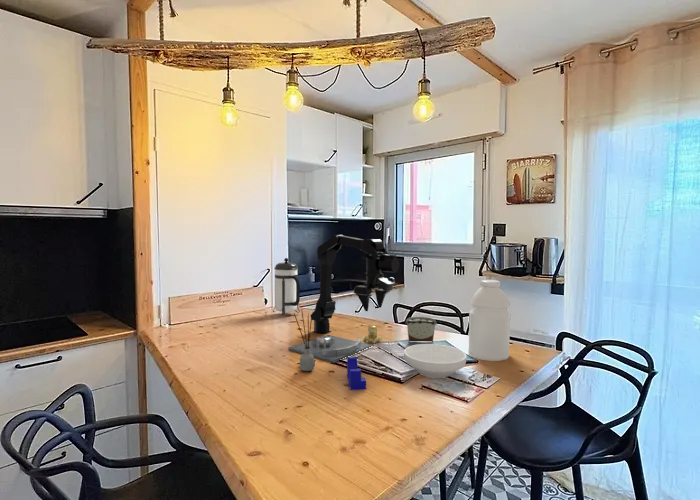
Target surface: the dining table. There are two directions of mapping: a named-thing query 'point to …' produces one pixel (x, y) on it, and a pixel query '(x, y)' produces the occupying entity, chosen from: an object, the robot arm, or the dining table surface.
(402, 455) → the dining table surface
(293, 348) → the carrier plate
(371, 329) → the gear
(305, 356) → the reed diffuser
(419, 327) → the food container
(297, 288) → the coffee press
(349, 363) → the blue u-shaped block
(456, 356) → the bowl
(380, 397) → the dining table surface
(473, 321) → the bottle
